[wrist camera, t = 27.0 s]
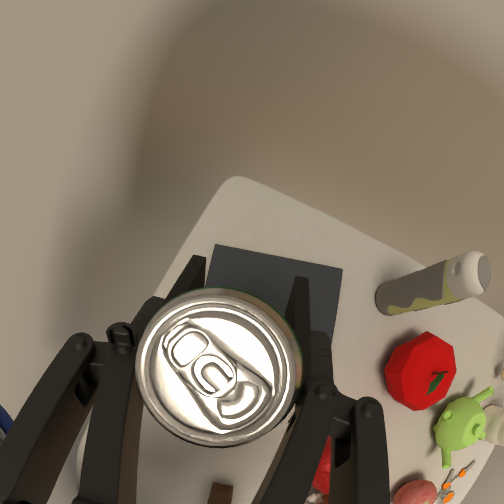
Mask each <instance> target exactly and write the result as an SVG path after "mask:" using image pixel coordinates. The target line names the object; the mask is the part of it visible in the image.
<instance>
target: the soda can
mask: <svg viewBox="0 0 504 504" xmlns="http://www.w3.org/2000/svg"><path fill="white" fill-rule="evenodd" d="M135 374H136V381H137V386H138V390H139V393H140V395H141V398H142V400H143V402H144V404H145V406H146V407H147V409H148V411H149V412H150V413H151V415H152V416H153V417H154V418H155V420H156V421H157V422H158V423H159V424H160V425H161V426H163V427H164V428H165V429H166V430H167V431H169V432H170V433H172V434H173V435H175V436H176V437H178V438H180V439H182V440H184V441H186V442H189V443H192V444H195V445H198V446H203V447H209V448H229V447H236V446H240V445H243V444H247V443H249V442H252V441H254V440H256V439H258V438H260V437H261V436H263V435H265V434H266V433H268V432H269V431H271V430H272V429H274V428H275V427H276V426H277V425H278V424H279V423H280V422H281V421H283V420H284V419H285V417H286V416H287V415H288V413H289V412H290V411H291V409H292V408H293V406H294V404H295V402H296V400H297V398H298V395H299V392H300V389H301V385H302V379H303V358H302V353H301V348H300V345H299V343H298V340H297V337H296V335H295V333H294V331H293V330H292V328H291V326H290V325H289V323H288V322H287V321H286V319H285V318H284V317H283V316H282V314H281V313H280V312H279V311H277V310H276V309H275V308H274V307H273V306H272V305H271V304H269V303H268V302H266V301H265V300H263V299H262V298H260V297H258V296H256V295H254V294H252V293H249V292H247V291H244V290H240V289H236V288H232V287H223V286H211V287H203V288H197V289H193V290H190V291H188V292H185V293H182V294H180V295H179V296H177V297H175V298H173V299H171V300H170V301H169V302H167V303H166V304H165V305H164V306H162V307H161V308H160V309H159V310H158V311H157V313H156V314H155V315H154V316H153V317H152V319H151V320H150V322H149V323H148V325H147V326H146V328H145V331H144V333H143V335H142V337H141V340H140V343H139V346H138V350H137V353H136V361H135Z"/></svg>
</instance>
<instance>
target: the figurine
mask: <svg viewBox="0 0 504 504" xmlns="http://www.w3.org/2000/svg"><path fill="white" fill-rule="evenodd" d="M328 499H329V494H323V493H320V494H319V493H317V494H316V493H313V494H311V495H310V496H309V497H308V498H307V500H308V501H309V502H311V503H313V504H328Z"/></svg>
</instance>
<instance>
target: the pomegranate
mask: <svg viewBox="0 0 504 504" xmlns="http://www.w3.org/2000/svg"><path fill="white" fill-rule="evenodd" d="M330 463H331V436H328V438H327V441H326V444H325V447H324V451H323V454H322V457H321V460H320V463H319V466H318V468H317V471H316V474H315V477H314V479H313V482H312V486H313V487H314V488H315V489H317V490H319V491H320V492H321V493H323V494H329V484H330Z"/></svg>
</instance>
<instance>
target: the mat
mask: <svg viewBox="0 0 504 504" xmlns="http://www.w3.org/2000/svg"><path fill="white" fill-rule="evenodd" d="M342 272H343V269H340V268H335V267H330V266H325V265H320V264H315V263H310V262H304V261H299V260H294V259H289V258H284V257H279V256H274V255H269V254H264V253H259V252H253V251H248V250H243V249H238V248H233V247H228V246H223V245H218V244H215V247H214V251H213V255H212V259H211V263H210V267H209V271H208V276H207V280H206V284H205V287H211V286H223V287H232V288H236V289H240V290H244V291H247V292H249V293H252V294H254V295H256V296H258V297H260V298H262V299H263V300H265V301H266V302H268V303H269V304H271V305H272V306H273V307H274V308H275V309H276V310H277V311H279V312H280V313H281V314H282V316H283V317H284V318H285V310H286V307H287V304H288V300H289V297H290V293H291V290H292V286H293V283H294V279H295V276H301V277H306V278H309V295H310V329H311V330H316V331H322V332H326V333H327V335H328V337H329V338H330V340H331V343H332V337H333V332H334V326H335V320H336V314H337V308H338V301H339V294H340V287H341V280H342Z"/></svg>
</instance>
